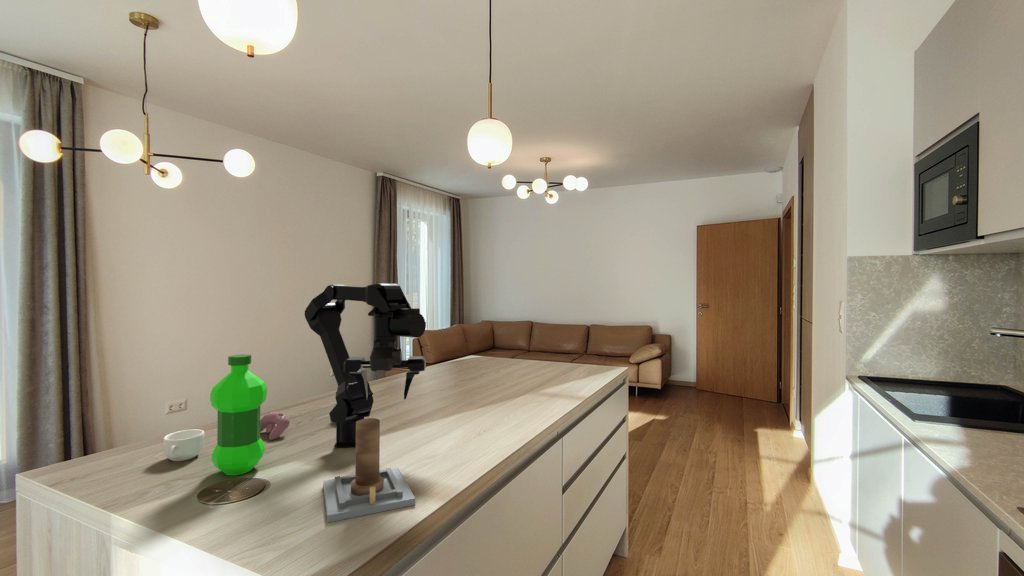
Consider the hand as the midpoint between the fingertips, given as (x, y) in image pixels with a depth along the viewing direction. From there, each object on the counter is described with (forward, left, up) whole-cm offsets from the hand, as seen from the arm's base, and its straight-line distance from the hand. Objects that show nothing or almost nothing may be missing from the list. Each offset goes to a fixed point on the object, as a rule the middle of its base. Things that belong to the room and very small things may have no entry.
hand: (385, 399), depth 107 cm
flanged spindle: (0, -22, -12) cm, 25 cm away
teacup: (-46, +1, -13) cm, 48 cm away
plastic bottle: (-30, -7, -13) cm, 33 cm away
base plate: (0, -22, -13) cm, 26 cm away
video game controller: (-33, +17, -13) cm, 39 cm away
